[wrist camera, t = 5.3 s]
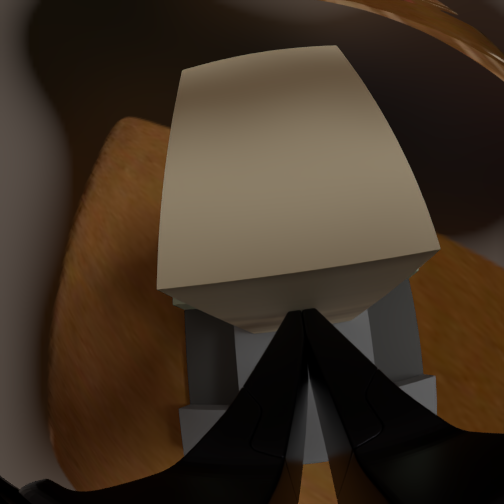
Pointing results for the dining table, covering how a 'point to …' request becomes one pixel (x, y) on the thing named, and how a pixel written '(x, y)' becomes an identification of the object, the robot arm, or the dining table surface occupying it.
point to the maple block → (285, 192)
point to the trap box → (253, 346)
